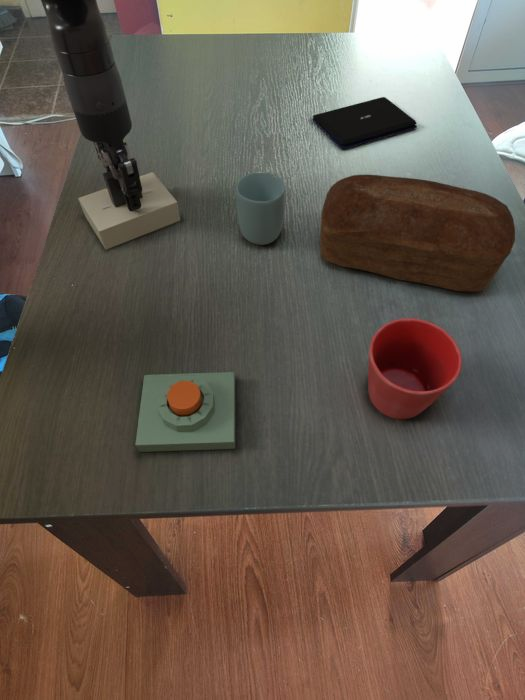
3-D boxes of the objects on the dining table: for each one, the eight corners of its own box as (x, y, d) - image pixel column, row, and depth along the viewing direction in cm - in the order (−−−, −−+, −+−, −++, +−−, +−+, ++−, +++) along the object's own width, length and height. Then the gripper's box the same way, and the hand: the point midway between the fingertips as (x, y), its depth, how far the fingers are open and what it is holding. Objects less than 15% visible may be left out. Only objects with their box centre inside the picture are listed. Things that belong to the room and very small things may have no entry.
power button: (168, 416, 57) (165, 409, 55) (170, 387, 59) (168, 380, 57) (201, 415, 57) (199, 408, 55) (202, 386, 59) (200, 379, 57)
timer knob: (115, 207, 78) (106, 178, 73) (111, 201, 79) (101, 172, 74) (143, 197, 80) (135, 167, 75) (138, 191, 81) (130, 162, 76)
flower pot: (339, 386, 63) (350, 345, 55) (397, 348, 67) (415, 304, 59) (394, 446, 58) (415, 410, 50) (454, 401, 62) (482, 361, 54)
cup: (274, 256, 77) (276, 207, 69) (231, 245, 79) (227, 195, 71) (289, 226, 81) (292, 177, 73) (248, 216, 83) (246, 166, 75)
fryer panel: (105, 249, 78) (98, 230, 75) (85, 216, 83) (77, 197, 80) (180, 220, 82) (177, 201, 79) (157, 190, 87) (152, 171, 84)
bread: (489, 307, 71) (526, 247, 61) (309, 269, 76) (317, 207, 65) (491, 247, 78) (525, 184, 68) (328, 215, 83) (337, 152, 73)
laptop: (306, 113, 103) (307, 103, 101) (389, 99, 106) (391, 90, 104) (332, 153, 94) (334, 144, 92) (422, 137, 97) (425, 128, 95)
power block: (139, 452, 58) (131, 439, 54) (147, 382, 63) (141, 367, 60) (235, 449, 58) (233, 435, 55) (235, 380, 64) (233, 364, 60)
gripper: (143, 113, 63) (165, 213, 77) (103, 70, 70) (130, 169, 84) (91, 130, 61) (123, 230, 74) (55, 84, 68) (90, 183, 81)
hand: (126, 197), depth 79 cm, fingers open, 6 cm apart
